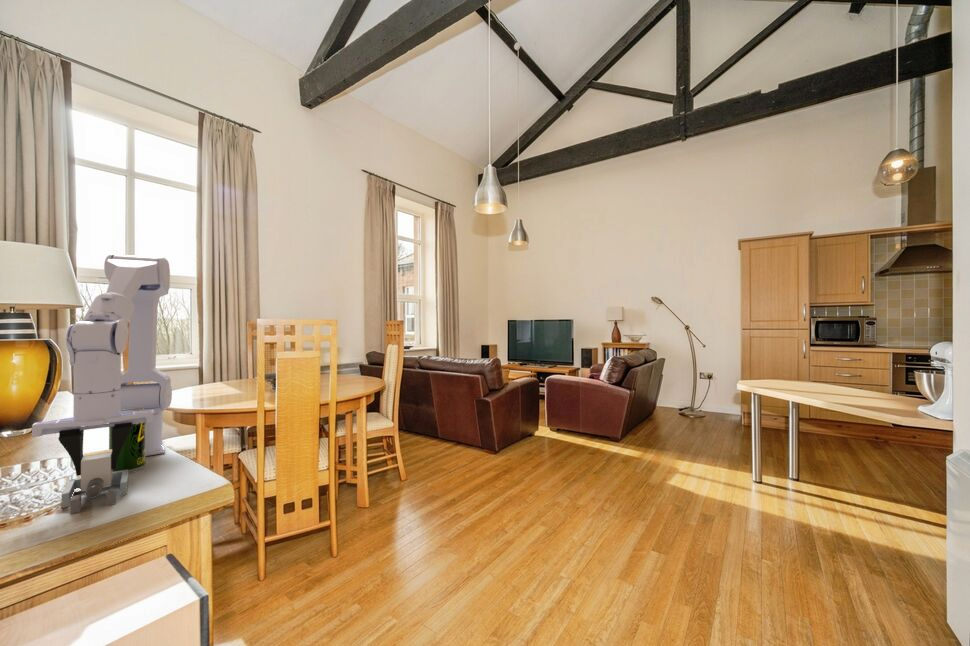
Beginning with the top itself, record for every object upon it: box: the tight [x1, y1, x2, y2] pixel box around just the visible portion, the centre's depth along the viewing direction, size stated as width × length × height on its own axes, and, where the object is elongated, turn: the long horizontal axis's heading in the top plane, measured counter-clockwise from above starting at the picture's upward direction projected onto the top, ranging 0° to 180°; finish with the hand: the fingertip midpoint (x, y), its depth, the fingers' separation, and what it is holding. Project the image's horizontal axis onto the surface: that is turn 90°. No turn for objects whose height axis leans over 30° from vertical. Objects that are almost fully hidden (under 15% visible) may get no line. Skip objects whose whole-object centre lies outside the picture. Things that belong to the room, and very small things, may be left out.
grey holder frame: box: [61, 469, 129, 515], centre depth 66 cm, size 11×8×2 cm
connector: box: [80, 449, 113, 499], centre depth 65 cm, size 10×4×5 cm, turn 41°
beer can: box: [108, 407, 146, 474], centre depth 77 cm, size 5×5×12 cm
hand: (97, 470), depth 66 cm, fingers closed on connector, 3 cm apart
